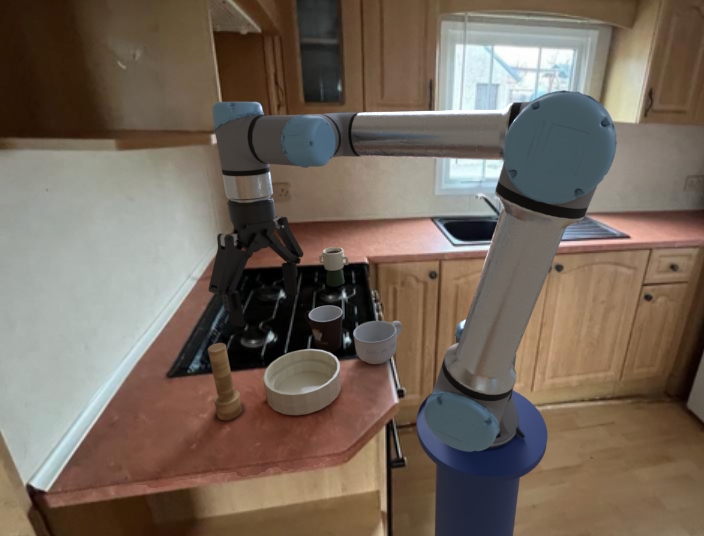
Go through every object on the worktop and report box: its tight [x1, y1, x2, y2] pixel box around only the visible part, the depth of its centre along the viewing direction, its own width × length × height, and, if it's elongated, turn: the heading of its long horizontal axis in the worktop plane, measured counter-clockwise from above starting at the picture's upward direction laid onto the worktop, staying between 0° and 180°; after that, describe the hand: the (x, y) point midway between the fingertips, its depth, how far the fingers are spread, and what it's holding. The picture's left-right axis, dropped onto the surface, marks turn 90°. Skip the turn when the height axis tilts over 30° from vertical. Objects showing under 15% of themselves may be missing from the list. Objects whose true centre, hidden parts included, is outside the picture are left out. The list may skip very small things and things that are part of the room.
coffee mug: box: [304, 305, 343, 354], centre depth 109 cm, size 12×9×10 cm
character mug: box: [318, 246, 349, 288], centre depth 144 cm, size 11×7×13 cm, turn 77°
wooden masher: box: [207, 342, 243, 421], centre depth 84 cm, size 5×5×16 cm
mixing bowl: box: [262, 348, 342, 416], centre depth 91 cm, size 16×16×6 cm
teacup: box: [352, 320, 403, 365], centre depth 104 cm, size 14×11×8 cm
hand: (266, 308), depth 78 cm, fingers open, 13 cm apart
